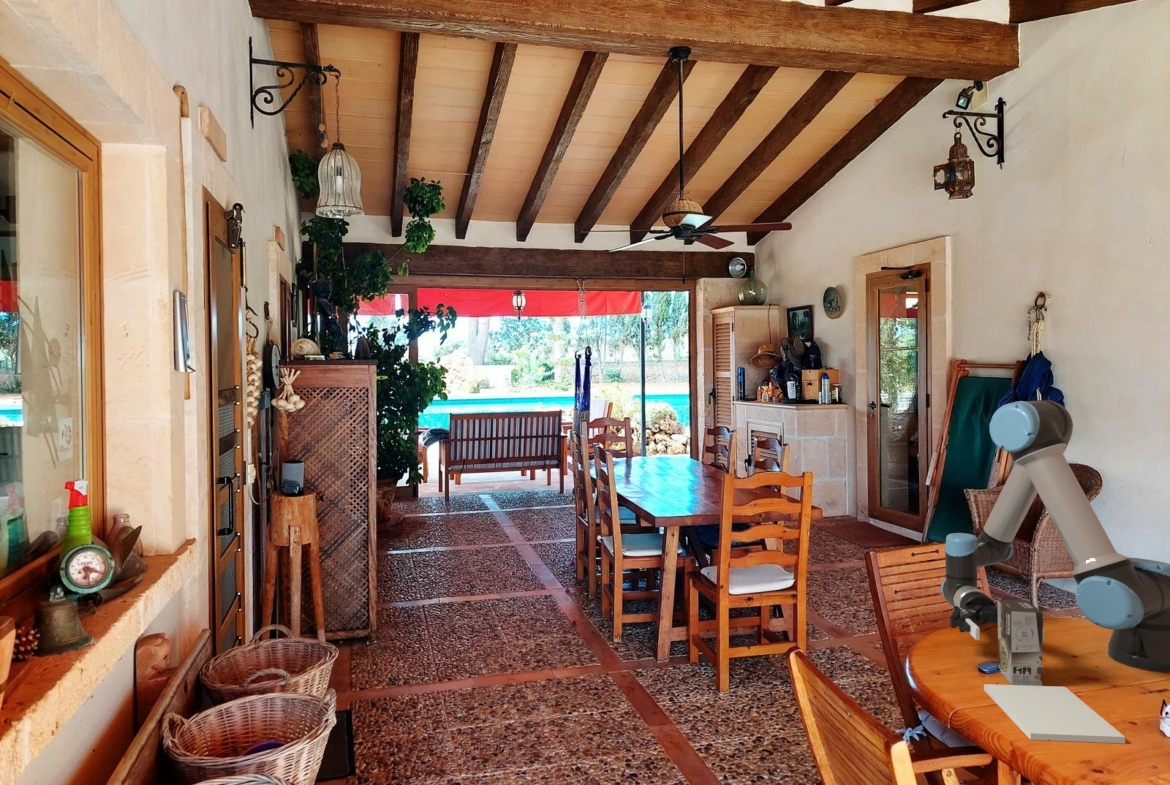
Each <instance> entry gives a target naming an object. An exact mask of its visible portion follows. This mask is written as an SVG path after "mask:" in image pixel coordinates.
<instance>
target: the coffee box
mask: <svg viewBox="0 0 1170 785" xmlns="http://www.w3.org/2000/svg"><path fill="white" fill-rule="evenodd" d="M997 608H998V624H997V648H998V649H997V650H998V651H997V654H998V655H997V657H998V658H997V659H998V660H997V661H998V662H997V665H999V668H1000V671H1001V672H1000V671H999V672H1000V673H1001V675H1002V676H1003V675H1004V676H1003V677H1004V678H1005V679H1006V681H1007V682H1009V685H1025V686H1043V642H1042V619H1043V617H1044V616H1043V611H1042V610H1040V609H1039V608H1038V607H1036V606H1035V605H1034V604H1032V603H1031V602H1030V601H1029V600H1023V599H998V600H997Z"/></svg>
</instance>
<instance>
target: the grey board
mask: <svg viewBox="0 0 1170 785" xmlns="http://www.w3.org/2000/svg"><path fill="white" fill-rule="evenodd" d="M983 690H984V692H985V693H986V694H987V695H988V696H989V697H990V698H991V699H992V701H994V702H995V704H996V705H997V706H998V707H999V708H1000V709H1001V710H1002V711H1003V712H1004V713H1005V714H1006V715H1007V716H1008V717H1009V719H1011V721H1012V722H1014V724H1015V725H1016V726H1017V727H1018V728H1019V729H1020V730H1021V731H1022V732H1023V733H1024V734H1025V736H1026V737H1027V738H1028V739H1029V740H1030V741H1048V740H1049V741H1053V742H1054V741H1055V742H1077V743H1079V742H1080V743H1098V744H1099V743H1101V744H1103V743H1104V744H1108V743H1109V744H1123V745H1124V744H1126V737H1125V735H1123V734H1122V733H1121V732H1120V731H1119V730H1117V729H1116V728H1115V727H1114V726H1113V725H1111V724H1110V723H1109V722H1108V721H1107V720H1106V719H1104V718H1103V717H1102V716H1101V715H1100V714H1098V712H1096V711H1095V710H1093V708H1091V707H1090V706H1089V705H1088V704H1087V703H1085V702H1084V701H1083V700H1081V698H1079V697H1078V696H1077V695H1076V694H1074V693H1073V692H1072V691H1071V690H1069V688H1067V687H1066V686H1055V685H1054V686H1051V685H1048V686H1047V685H1042V686H1025V685H1011V684H986V683H985V684H984V683H983Z"/></svg>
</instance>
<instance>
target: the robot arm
mask: <svg viewBox="0 0 1170 785" xmlns="http://www.w3.org/2000/svg"><path fill="white" fill-rule="evenodd" d="M1073 429H1074V422H1073V418H1072V415H1071V413H1070V412H1069V411H1068V409H1067V408H1066V407H1064V405H1062V404H1060V403H1058V402H1056V401H1053V400H1048V399H1039V400H1029V401H1028V400H1027V401H1023V400H1019V401H1014V402H1009V403H1006V404H1004V405H1002V406H1000V407H999V408H997V409H996V411H995V412H994V413H993V415H992V417H991V419H990V422H989V435H990V438H991V440H992V442H993V443H994V444H995V446H996V447H997V448H999V449H1001V450H1003V451H1005V452H1008V453H1009V455H1010V457H1011V460H1012V461H1013V463H1014V464H1013V467H1012V469H1011V471H1010V473H1009V475H1008V477H1007V479H1006V481H1005V484H1004V485H1003V487H1002V489H1001V491H1000V493H999V495H998V497H997V499H996V502H995V504H994V505H993V507H992V509H991V511H990V514H989V516H988V518H987V519H986V522H985V524H984V526H983V528H982V530H981V532H980V534H979V536H978V537H976V535H974V534H970V533H965V532H964V533H963V532H954V533H952V532H951V533H949V534H947V535H946V538H945V546H944V554H945V555H944V556H945V578H944V579H943V581H942V582H941V585H940V591H941V595H942V596H943V597H944V599H945V600H946V602H947V603H948V604H949V605H951V606H952V607H953V611H952V613H951V615H950V618H949V624H950V625H949V627H950V628H952V629H956V628H957V627H958V632H959V633H965V632H967V633H968V634H969V635H970V636H971V637H972V638H974V640H976V641H980V639H981V638H980V634H981V633H980V627H979V626H984V625H987V624H989V623H990V624H993V623H994V624H997V625H998V606H997V605H996V604H995V602H994V601H993V599H992V598H991V597H989V595H986V594H985V593H984V592H983V591H981V590H980V589H979V588H978V573H979V571H978V569H979V568H983V567H987V566H991V565H996V564H1002V563H1004V562H1005V561H1008V560H1009V559H1011V557H1012V556H1013V554H1014V544H1013V541H1014V539H1015V537H1016V534H1017V533H1018V531H1019V529H1020V528H1021V525H1022V524H1023V521H1024V520H1025V518H1026V515H1027V514H1028V512H1029V510H1030V508H1031V506H1032V504H1033V502H1034V500H1035V499H1036V497H1037V494H1038V495H1039V497H1040V500H1041V502H1042V503H1043V505H1044V507H1045V509H1046V511H1047V514H1048V515H1049V517H1050V519H1051V520H1052V522H1053V524H1054V526H1055V528H1056V530H1057V532H1058V534H1059V536H1060V538H1061V540H1062V542H1063V544H1064V545H1065V547H1066V550H1067V552H1068V554H1069V555H1070V558H1071V559H1072V560H1073V563H1074V569H1073V571H1072V574H1071V575H1072V576H1073V579H1074V581H1075V583H1076V584H1077V587H1076V592H1075V594H1074V598H1075V604H1076V606H1077V608H1078V610H1079V611H1080V613H1081V614H1082V615H1083V616H1084V617H1085V619H1087V620H1088V621H1090V622H1091V623H1092V624H1094V625H1096V626H1098V627H1100V628H1103V629H1107V630H1112V634H1111V635H1110V638H1109V641H1108V642H1107V643H1108V644H1107V654H1108V656H1109V657H1110V658H1111V659H1113V660H1115V661H1116V662H1118V663H1121V664H1124V665H1126V666H1129V667H1133V668H1136V669H1141V670H1146V671H1152V672H1158V673H1159V672H1162V673H1163V672H1164V673H1170V563H1169V562H1165V561H1164V562H1163V561H1159V560H1158V561H1157V560H1151V559H1146V558H1140V557H1139V558H1138V557H1128V556H1126V555H1123V554H1121V553H1119V552H1117V551H1116V548H1115V547H1114V545H1113V543H1112V541H1111V539H1110V538H1109V536H1108V533H1107V532H1106V530H1105V528H1104V527H1103V525H1102V524H1101V523H1102V522H1101V521H1100V518H1098V516H1097V514H1096V512H1095V510H1094V509H1093V507H1092V505H1091V503H1090V501H1089V499H1088V497H1087V495H1086V494H1085V492H1084V489H1083V488H1082V487H1081V484H1080V483H1079V481H1078V479H1077V477H1076V475H1075V473H1074V472H1073V470H1072V467H1071V466H1070V465H1069V462H1068V461H1067V459H1066V457H1065V455H1064V453H1065V452H1066V449H1067V447H1068V445H1069V443H1070V440H1071V438H1072V434H1073ZM1045 635H1046V634H1045V628H1044V619H1043V618H1042V643H1043V642H1046V641H1045V639H1046V638H1045Z"/></svg>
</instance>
